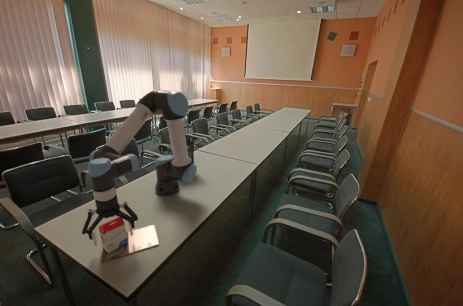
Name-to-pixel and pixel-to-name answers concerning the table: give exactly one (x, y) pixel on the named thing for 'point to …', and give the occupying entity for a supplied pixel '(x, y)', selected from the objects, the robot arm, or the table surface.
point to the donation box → (189, 147)
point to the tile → (142, 239)
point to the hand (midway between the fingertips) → (114, 238)
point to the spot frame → (116, 255)
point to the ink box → (113, 234)
